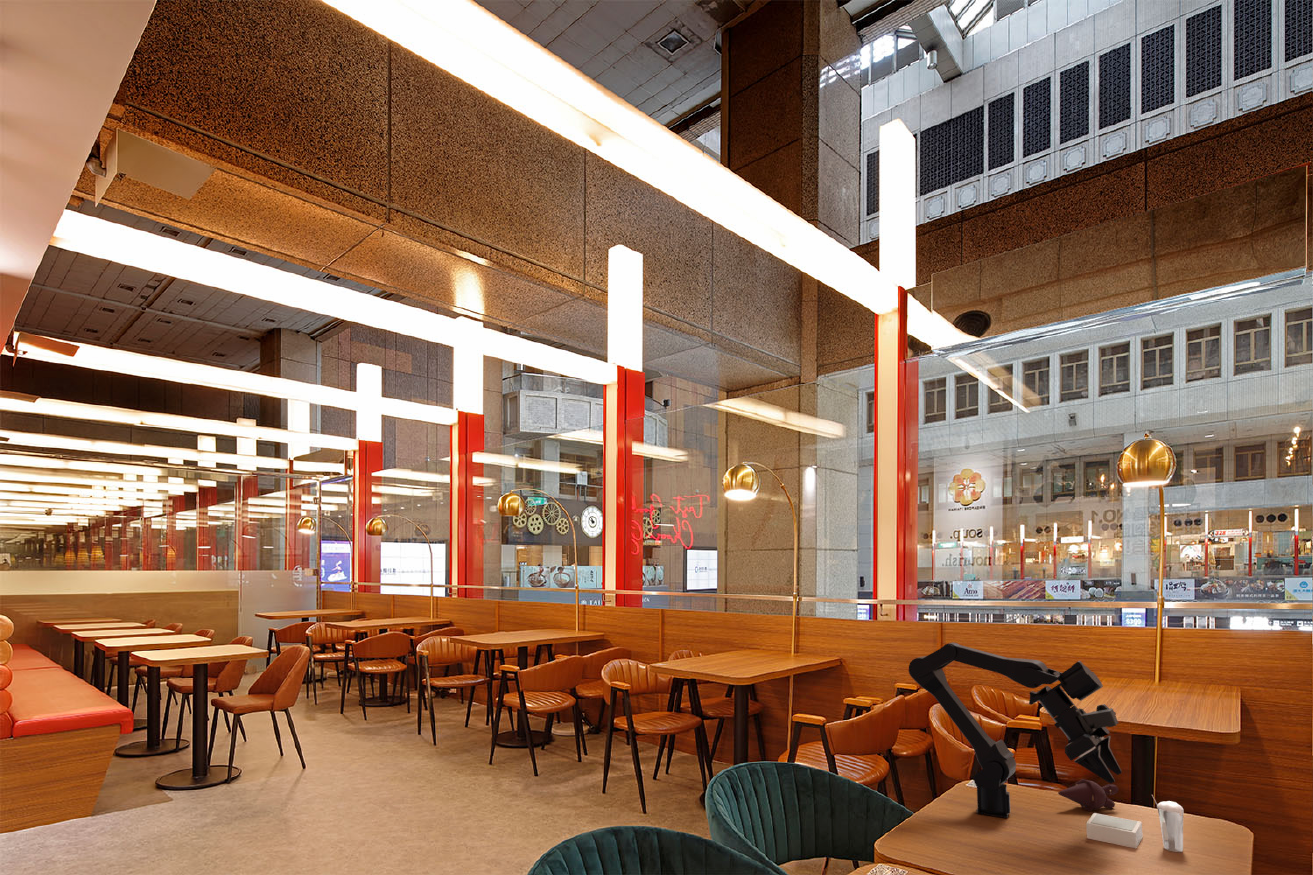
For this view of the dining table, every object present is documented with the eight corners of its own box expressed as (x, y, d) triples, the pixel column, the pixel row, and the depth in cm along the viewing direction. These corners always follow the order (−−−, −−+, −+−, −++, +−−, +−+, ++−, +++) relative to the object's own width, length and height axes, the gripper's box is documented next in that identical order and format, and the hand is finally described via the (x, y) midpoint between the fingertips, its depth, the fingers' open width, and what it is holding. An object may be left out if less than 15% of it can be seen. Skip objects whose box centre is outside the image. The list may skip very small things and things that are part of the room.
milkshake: (1157, 842, 164) (1153, 792, 166) (1187, 849, 161) (1183, 797, 162) (1153, 848, 161) (1150, 796, 162) (1185, 855, 157) (1181, 802, 159)
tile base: (1087, 838, 166) (1086, 822, 166) (1095, 827, 173) (1094, 812, 173) (1136, 848, 160) (1135, 831, 161) (1142, 836, 167) (1141, 821, 168)
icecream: (1071, 787, 181) (1130, 791, 183) (1051, 770, 188) (1108, 774, 190) (1065, 815, 182) (1124, 819, 184) (1046, 797, 189) (1102, 802, 191)
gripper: (1086, 697, 165) (1143, 767, 157) (1102, 687, 180) (1155, 751, 172) (1042, 725, 170) (1096, 794, 162) (1061, 713, 184) (1111, 776, 176)
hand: (1116, 777), depth 168 cm, fingers open, 9 cm apart
